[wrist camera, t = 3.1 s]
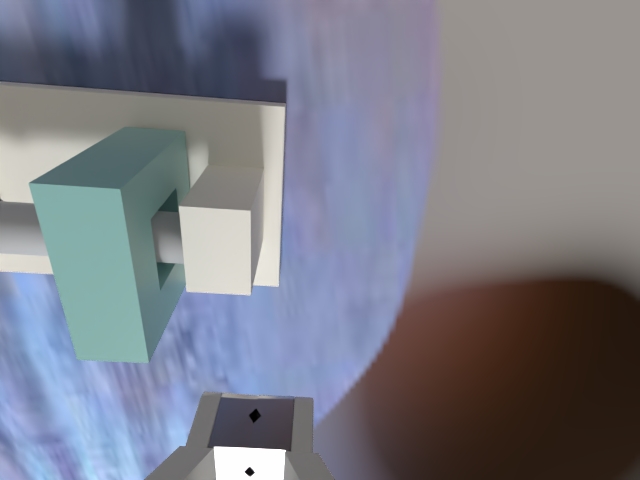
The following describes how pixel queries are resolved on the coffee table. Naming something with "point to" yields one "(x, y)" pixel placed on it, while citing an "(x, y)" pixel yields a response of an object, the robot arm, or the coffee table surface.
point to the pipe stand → (203, 169)
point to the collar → (114, 240)
